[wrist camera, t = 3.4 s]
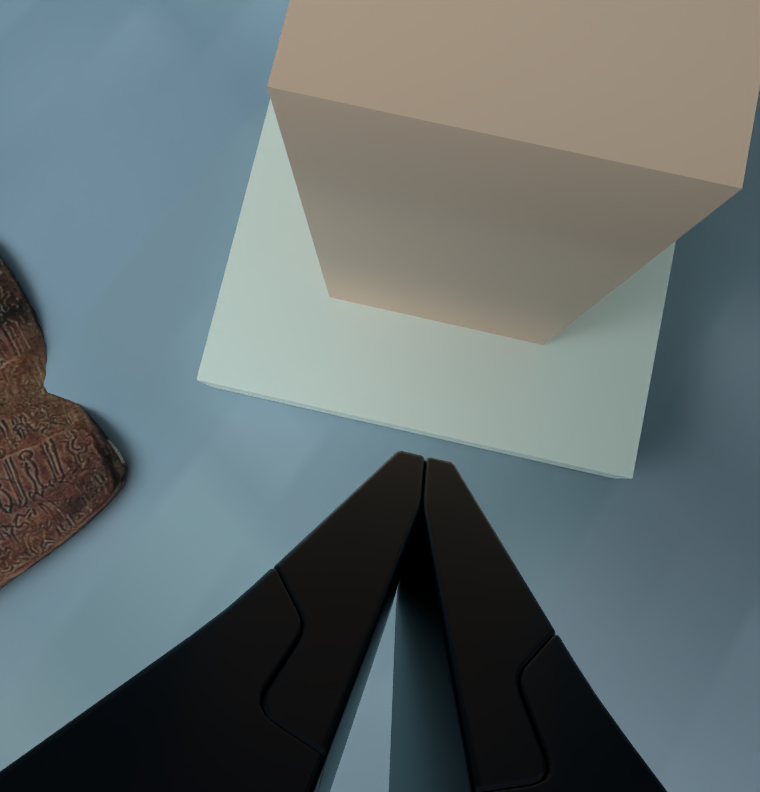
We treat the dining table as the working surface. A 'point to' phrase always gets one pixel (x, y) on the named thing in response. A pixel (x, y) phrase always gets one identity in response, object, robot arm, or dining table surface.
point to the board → (426, 348)
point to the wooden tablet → (43, 447)
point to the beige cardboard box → (510, 146)
